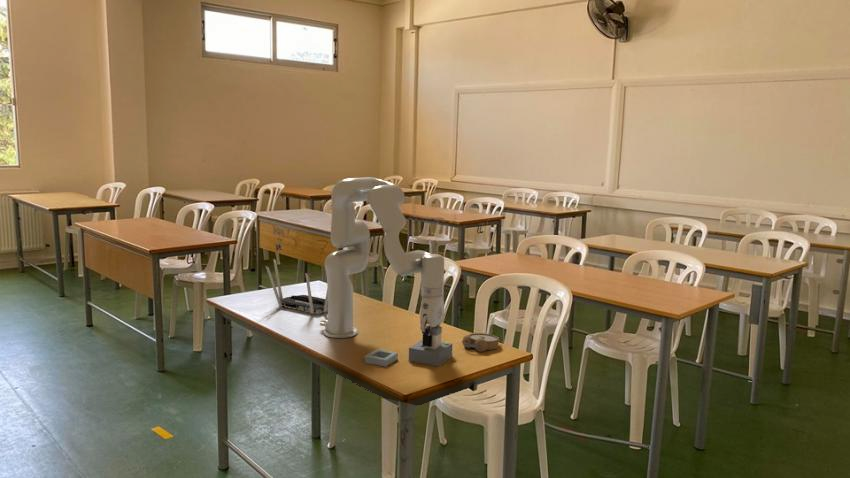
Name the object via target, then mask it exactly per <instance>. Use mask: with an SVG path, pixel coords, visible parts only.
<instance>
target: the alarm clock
mask: <svg viewBox="0 0 850 478" xmlns="http://www.w3.org/2000/svg"><path fill="white" fill-rule="evenodd" d="M500 342H501V340H500V339H499V336H496V335H495V334H494V335H493V334H491V333H484V332H483V333H482V332H475V333H474V332H473V333H470V334H466V335H465V336H463V339H462V341H461V343H462V346H464V348H466V349H470V348H473V349H475V350H476V351H477V352H481V353H484V352H486V351H487V350H489V351H490V350H491V351H493V350H496V349H498V348H499V343H500Z"/></svg>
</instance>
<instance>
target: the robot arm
mask: <svg viewBox="0 0 850 478" xmlns="http://www.w3.org/2000/svg"><path fill="white" fill-rule="evenodd" d="M405 197H406V196H405V192H404V191H403V189H402V188H401V187H400V186H399V185H398V184H395V183H392V182H389V181H385V180H382V179H380V178H377V177H373V176H372V177H370V176H367V177H350V178H344V179H342V180H339V181H337V182H336V183H335V184H334V186H333V188H332V190H331V222H330V242H331V244H332V246H333V247H335V248H338V249H341V250H337V251H333V252H331V253H329V254H328V255H326V258H325V261H324V270H325V275H326V284H327V285H326V287H327V288H328V311H327V319H323V318H321V320H320V323H319V326H321V327H324V330H323V335H324V336H326V337H328V338H332V339H347V338H351V337H354V336H356V335H357V334H358V329H357V328H356V327H355V326H354V286H353V283H352V281H351V280H352V279H350V275H354V274H358V273H361V272H364V271H365V270H366V268H367V266H368V263H369V255H370V241H371V232H370V229H369V226H368V225H367V224H366V223H365V222H364V221H363V220H360V219H356V210H355V205H354V204H353V203H356V202H368V203H369V205H370V208H371V210H372V211H373V213H374V215H375V217H376V219H377V221H378V223H379V225H380V227H381V228H382V230H383V232H384V235H383V251H384V254H385V257H386V259H387V261H388V262H389V264H390V267H391V268H392V270H393V271H394V272H395V273H396V274H397V275H399V276H402V277H407V276H411V275H414V274H418V273H419V274H420V273H421V276H420V278H421V282H420V296H421V302H420V309H419V310H420V311H419V323H420V327H419V328H420V330H421V334H422V339H423V346H427V347H431V346H432V335H431V331H432V327H435V326H440V327H441V324H442V323H443V322H444V321H445V300H444V291H445V289H444V283H445V281H444V280H445V258H444V256H443V255H441V254H438V253H429V252H427V251H425V250H419V249H418V250H417V249H416V250H412V251H407V252H405V250H404V249H403V246H402V245H401V242H400V232H401V230H403V229H404V227H406V224H407V220H406V217H405V215H404V214H403V212H402V210H401V208H400V207H401V206H404V205H403V204H404V203H405V199H406V198H405ZM344 248H348V249H344ZM427 324H428V325H427ZM426 327H428V328H429V331H428V329H426Z"/></svg>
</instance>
